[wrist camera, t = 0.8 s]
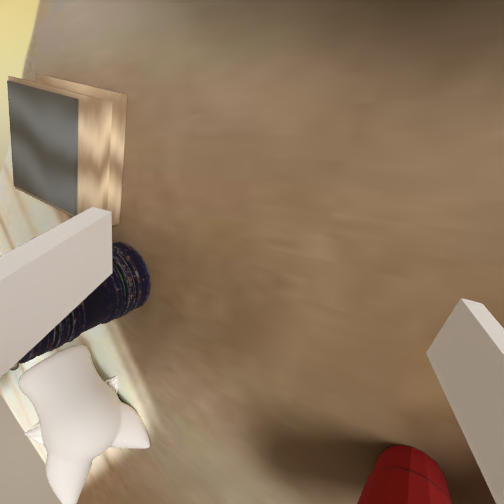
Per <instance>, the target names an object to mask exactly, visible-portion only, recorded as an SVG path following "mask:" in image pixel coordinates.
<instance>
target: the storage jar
mask: <svg viewBox="0 0 504 504" xmlns="http://www.w3.org/2000/svg"><path fill="white" fill-rule="evenodd" d="M150 286H151V283H150V276H149V272H148V269H147V266H146V264H145V262H144V260H143V259H142V257H141V256H140V255H139V253H138V252H137V251H136V250H135V249H134V248H132V247H131V246H129V245H128V244H125V243H121V242H117V243H112V274H111V275H110V276H109V277H108V278H106V279H105V280H104V281H103V282H102V283H101V284H100V285H99V286H98V287H97V288H96V289H95V290H94V291H93V292H92V293H91V294H89V295H88V296H87V297H86V298H85V299H84V300H83V301H82V302H81V303H80V304H79V305H78V306H77V307H76V308H75V309H74V310H72V311H71V312H70V313H69V314H68V315H67V316H66V317H65V318H64V319H63V320H62V321H61V322H60V323H59V324H58V325H56V326H55V327H54V328H53V329H52V330H51V331H50V332H49V333H48V334H47V335H46V336H45V337H44V338H43V339H42V340H41V341H39V342H38V343H37V344H36V345H35V346H34V347H33V348H32V349H31V350H30V351H29V352H28V353H27V354H26V355H25V356H24V357H22V358H21V359H20V360H19V361H18V362H17V363H25V362H27V361H29V360H31V359H33V358H35V357H36V356H39V355H42V354H44V353H46V352H48V351H52V350H54V349H56V348H58V347H60V346H62V345H63V344H64V343H66V342H70V341H72V340H74V339H75V338H77V337H78V336H79V335H80V334H81V333H82V332H84V331H87V330H89V329H91V328H93V327H95V326H97V325H99V324H104V323H107V322H109V321H111V320H114V319H117V318H119V317H122V316H124V315H126V314H127V313H129V312H130V311H132V310H133V309H136V308H138V307H140V306H142V305H143V304H144V303H145V302H146V301H147V299H148V297H149V294H150Z"/></svg>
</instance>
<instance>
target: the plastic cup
mask: <svg viewBox="0 0 504 504" xmlns="http://www.w3.org/2000/svg"><path fill="white" fill-rule="evenodd" d="M357 504H452V503H451V498H450V494H449V490H448V486H447V482H446V478H445V477H444V475H443V472H442V471H441V469H440V468H439V466H438V465H437V463H436V462H435V461H434V460H433V459H431V458H430V457H429V456H428V455H426V454H425V453H424V452H421V451H419V450H417V449H415V448H413V447H408V446H401V445H397V446H392V447H388V448H387V449H386V450H385V451H383V452H382V453H381V455H380V456H379V457H378V459H377V462H376V464H375V466H374V469H373V471H372V473H371V475H369V477H368V480H367V482H366V484H365V487H364V489H363V491H362V494H361V496H360V498H359V501H358V503H357Z"/></svg>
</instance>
